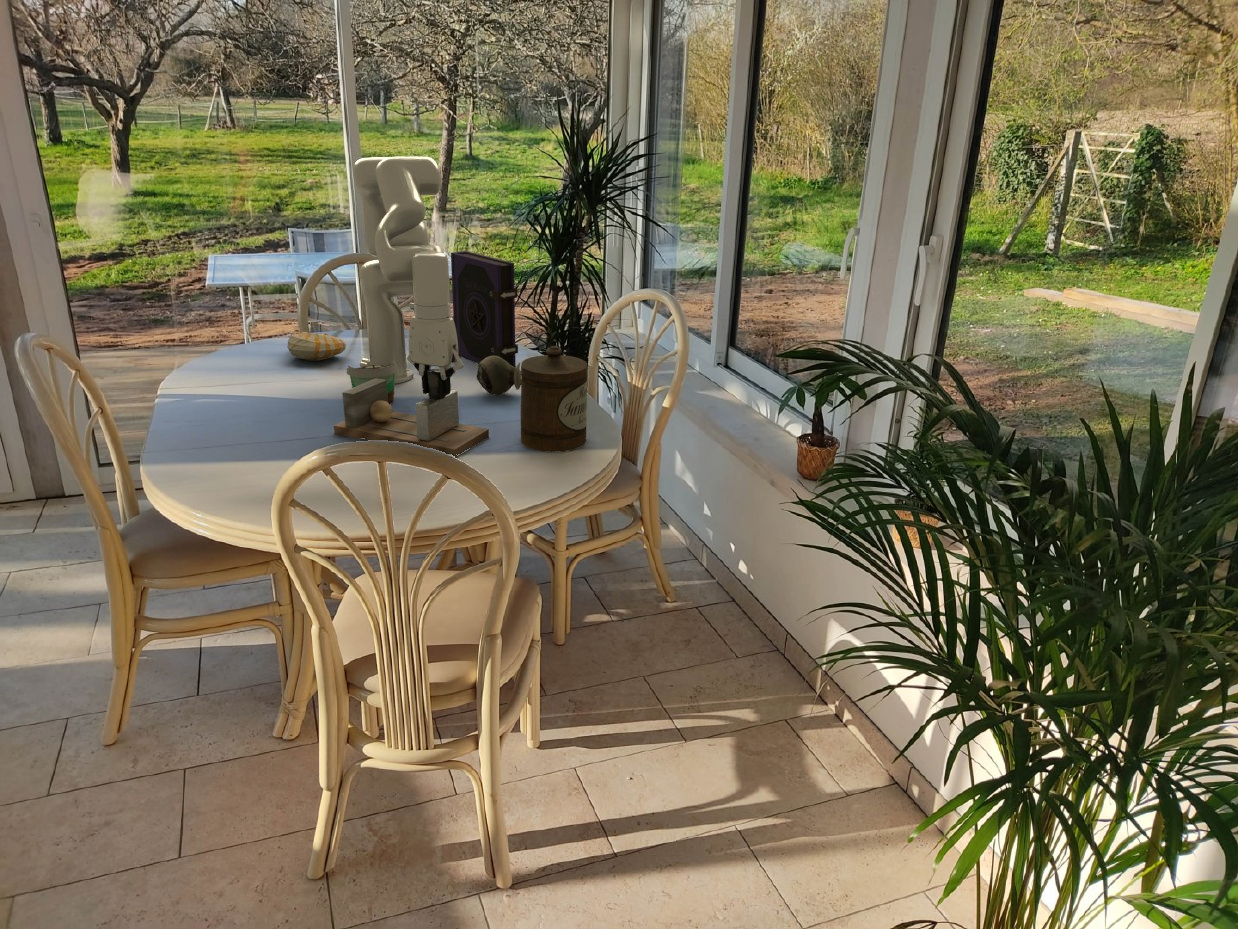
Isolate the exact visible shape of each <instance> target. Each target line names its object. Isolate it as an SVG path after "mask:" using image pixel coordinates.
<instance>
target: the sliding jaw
mask: <svg viewBox="0 0 1238 929" xmlns="http://www.w3.org/2000/svg"><path fill="white" fill-rule="evenodd" d="M427 378H428V393H427V394H428V395H427V396H428V397H427V398H424V399H423V400H420V401H419V402H416V403H415V404H414V405H415V416H416V424H417V439H421V440H426V441H430V440H432V439H434V438H435V437H437V436H439V435H441V434H442V433H444V432H446V431H448V430H450V429H451V428H453V427H455V426H457V425H459V424H460V416H459V413H460V412H459V396H458V395H459V394H458V393H459V392H458V390H456V389H451V391H450V394H449V395H447V396H445V397H441V396H440V389H439V380H440V379H442V378H441V373H440V368H431V369H430V370H428V371H427Z"/></svg>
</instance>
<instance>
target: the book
mask: <svg viewBox="0 0 1238 929" xmlns="http://www.w3.org/2000/svg"><path fill="white" fill-rule="evenodd" d="M450 263H451V264H450V265H451V266H450V267H451V268H450V269H451V270H450V272H451V292H452V293H451V294H452V314H453V317H452V318H453V320H454V324H455V328H456V333H457V341H458V356H459V358H462V359H465V360H467V361H470V362H473V363H475V364H477V362H476V360H478V361H479V363H480V362H481V361H482V360H484V359H485V358H486V357H489V356H499V357H500V358H502V359H504V360H505V361H507V362H508V363H509V364H510V365H511V366H513V367H515V368H516V367H517V365H516V364H517V363H516V359H517V358H516V354H519V344H516V311H515V310H516V308H515V307H516V306H515V300H516V299H517V298H518V289H517V288H516V287H515V263H514V262H511V261H507V260H505V259H499V258H495V257H491V256H488V255H484V254H480V253H476V252H472V251H468V250H466V251H465V250H463V251H456V252H455V251H454V252H450ZM475 359H476V360H475Z"/></svg>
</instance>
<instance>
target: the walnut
mask: <svg viewBox="0 0 1238 929" xmlns="http://www.w3.org/2000/svg"><path fill="white" fill-rule="evenodd" d="M392 411H393V407H392V405H391V404H389V403H387V402H386V401H376V402H375V403H373V404H372V406H371V408H370V415H371V417H372V418H373V419H374V420H375V421H377V422H386V421H388V420H389V419H390V418H391V416H392Z"/></svg>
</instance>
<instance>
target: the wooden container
mask: <svg viewBox="0 0 1238 929" xmlns="http://www.w3.org/2000/svg"><path fill="white" fill-rule="evenodd" d="M562 352H563V351H562V348H561V347H559V346H558V345H551V346H550V347H548V348H546V350H545V353H546V354H544V355H543V354H542V355H535V356H531V357H528V358H525V359H524V360H522V362H521V363H520V371H521V386H520V441H521V444H522V445H523V446H525V447H527V448H529V449H531V450H535V451H539V452H545V453H547V452H548V453H563V452H568V451H569V452H571V451H573V450H576V449H579V448H581V447H582V446H584V445H585V444H586V442H587V423H588V422H587V421H588V420H587V418H588V417H587V416H588V414H587V413H588V363H587V362H586V361H585V360H584V359H582V358H579V357H576V356H575V357H574V356H571V355H562Z"/></svg>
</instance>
